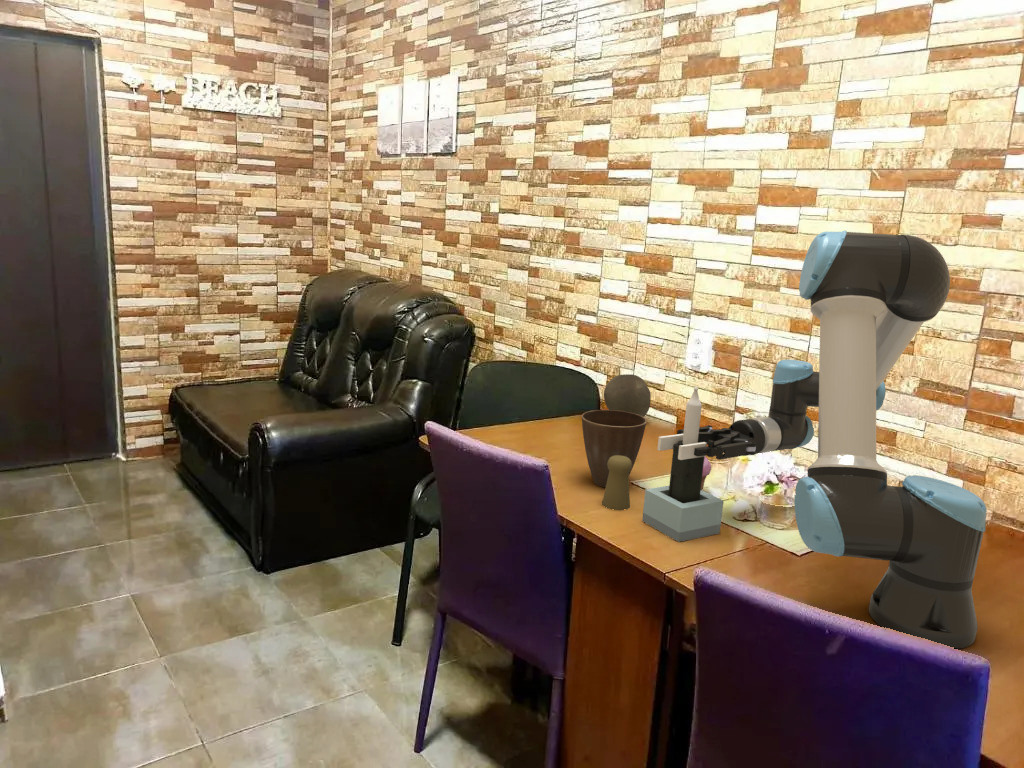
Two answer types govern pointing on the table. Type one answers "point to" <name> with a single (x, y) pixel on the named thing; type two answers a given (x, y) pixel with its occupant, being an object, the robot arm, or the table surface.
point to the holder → (682, 514)
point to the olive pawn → (617, 483)
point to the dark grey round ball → (627, 394)
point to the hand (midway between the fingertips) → (669, 448)
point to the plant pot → (610, 439)
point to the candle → (688, 470)
